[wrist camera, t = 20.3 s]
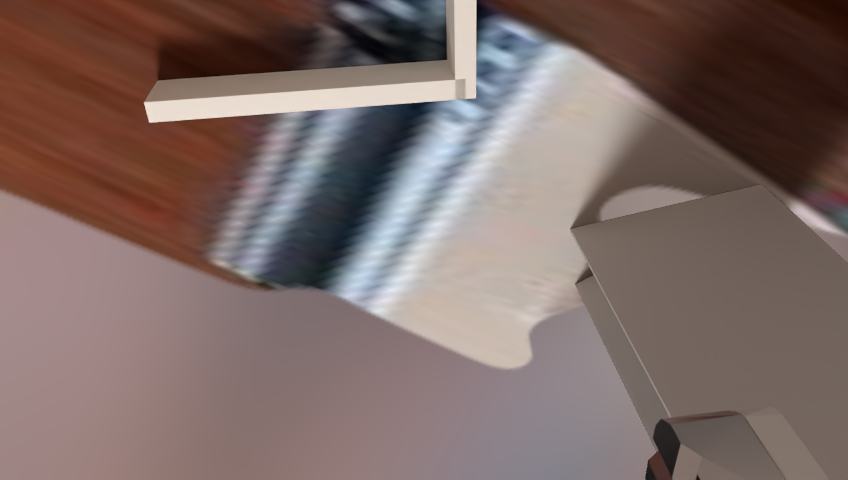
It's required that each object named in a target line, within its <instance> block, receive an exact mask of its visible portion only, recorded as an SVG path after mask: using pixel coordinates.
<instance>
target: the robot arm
mask: <svg viewBox="0 0 848 480" xmlns="http://www.w3.org/2000/svg"><path fill="white" fill-rule="evenodd" d="M653 440H654V442H655V444H656V446H657V448H658V451H657V452H656V453H655V454H654V455H653V456H652V457H651V458H650V459H649V460H648V463H647V469H646V475H645V480H830V479H829V478H828V476H827V475H826V474H825V472H824V471H823V470H822V468H821V467H820V466H819V464H818V463H817V461H816V460H815V459H814V457H813V456H812V455H811V453H810V452H809V451H808V449H807V448H806V446H805V445H804V444H803V442H802V441H801V440H800V438H799V437H798V436H797V434H796V433H795V431H794V430H793V429H792V427H791V426H790V425H789V423H788V422H787V421H786V419H785V418H784V416H783V415H782V414H781V412H780V411H778V410H777V409H775V408H774V407H772V406H769V407H760V408H750V409H741V410H734V411H730V410H726V411H718V412H710V413H702V414H694V415H686V416H678V417H670V418H662V419H660V420H659V422H658V423H657V424H656V426H655V430H654V434H653Z"/></svg>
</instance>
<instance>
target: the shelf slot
mask: <svg viewBox="0 0 848 480" xmlns="http://www.w3.org/2000/svg"><path fill="white" fill-rule="evenodd" d="M446 31H447V60H439V61H425V62H411V63H397V64H383V65H369V66H354V67H340V68H326V69H312V70H298V71H284V72H270V73H256V74H242V75H228V76H214V77H199V78H185V79H171V80H158V81H157V82H156V84H155V85H154V87H153V89H152V90H151V92H150V93H149V95H148V97H147V98H146V100H145V101H144V105H145V108H146V112H147V116H148V119H149V123H150V122H164V121H177V120H190V119H204V118H217V117H230V116H244V115H257V114H270V113H284V112H297V111H310V110H324V109H337V108H350V107H364V106H377V105H390V104H404V103H417V102H430V101H444V100H457V99H470V98H476V0H446Z"/></svg>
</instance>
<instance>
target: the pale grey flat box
mask: <svg viewBox="0 0 848 480" xmlns="http://www.w3.org/2000/svg"><path fill="white" fill-rule="evenodd" d="M570 230H571V233H572V235H573V237H574V239H575V241H576V243H577V245H578V246H579V248H580V250H581V252H582V254H583V256H584V258H585V260H586V261H587V263H588V265H589V267H590V269H591V271H592V273H593V275H592V276H590V277H588V278H586V279H584V280H583V281H581V282H579V283H577V284H575V285H576V287H577V289H578V291H579V293H580V295H581V297H582V300H583V302H584V304H585V306H586V308H587V310H588V312H589V314H590V316H591V318H592V320H593V322H594V324H595V326H596V328H597V330H598V332H599V335H600V337H601V339H602V341H603V343H604V345H605V347H606V349H607V351H608V353H609V355H610V357H611V359H612V361H613V363H614V365H615V367H616V370H617V372H618V374H619V376H620V378H621V380H622V382H623V384H624V386H625V388H626V390H627V392H628V394H629V396H630V398H631V400H632V402H633V405H634V407H635V409H636V411H637V413H638V415H639V417H640V419H641V421H642V423H643V425H644V427H645V429H646V431H647V433H648V435H649V437H650V439H651V442H652V444H653V445H654V448H655V450H656V452H657V451H658V448H657V446H656V444H655V442H654V440H653V434H654V430H655V426H656V424H657V423H658V422H659V420H660V419H662V418H670V417H678V416H686V415H694V414H702V413H710V412H718V411H726V410H730V411H734V410H741V409H750V408H760V407H769V406H772V407H774V408H775V409H777V410H778V411H780V412H781V414H782V415H783V416H784V418H785V419H786V421H787V422H788V423H789V425H790V426H791V427H792V429H793V430H794V431H795V433H796V434H797V436H798V437H799V438H800V440H801V441H802V442H803V444H804V445H805V446H806V448H807V449H808V451H809V452H810V453H811V455H812V456H813V457H814V459H815V460H816V461H817V463H818V464H819V466H820V467H821V468H822V470H823V471H824V472H825V474H826V475H827V476H828V478H829V479H830V480H848V263H847V262H846V261H845V260H844V259H843V258H842V257H841V256H840V255H839V254H838V253H837V252H835V250H833V249H832V248H831V247H830V246H829V245H828V244H827V243H826V242H824V240H823V239H821V238H820V237H819V236H818V235H817V234H816V233H815V232H814V231H813V230H812V229H811V228H809V227H808V226H807V225H806V224H805V223H804V222H803V221H802V220H801V219H800V218H799V217H797V216H796V215H795V214H794V213H793V212H792V211H791V210H790V209H789V208H788V207H787V206H785V205H784V204H783V203H782V202H781V201H780V200H779V199H778V198H777V197H776V196H775V195H773V194H772V193H771V192H770V191H769V190H768V189H767V188H766V187H765V186H764V185H763V184H760V185H756V186H751V187H747V188H743V189H739V190H734V191H730V192H726V193H721V194H717V195H713V196H708V197H704V198H700V199H696V200H691V201H687V202H683V203H678V204H674V205H670V206H666V207H661V208H657V209H653V210H648V211H644V212H640V213H635V214H631V215H627V216H622V217H618V218H614V219H610V220H605V221H601V222H597V223H592V224H588V225H584V226H579V227H575V228H571V229H570Z"/></svg>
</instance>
